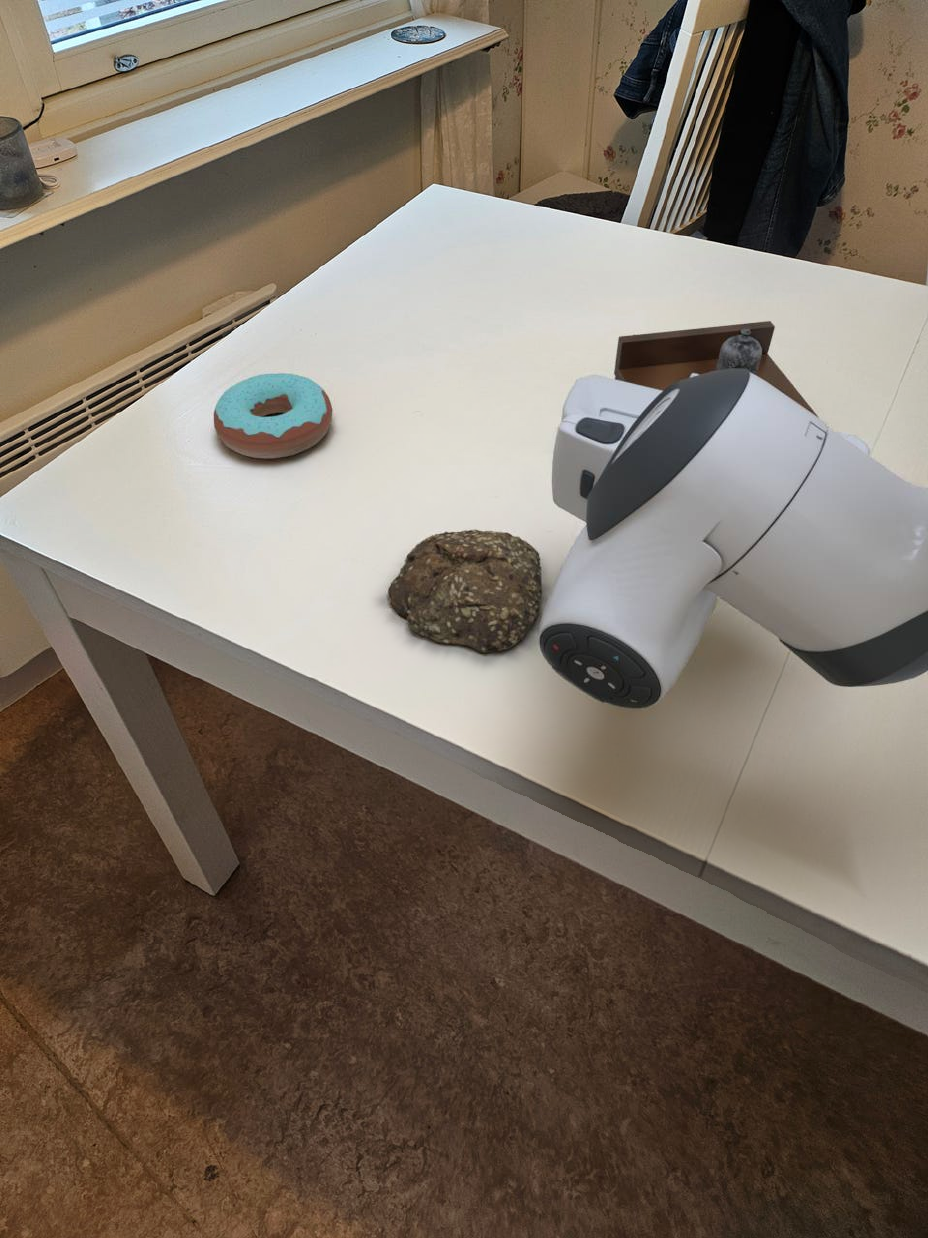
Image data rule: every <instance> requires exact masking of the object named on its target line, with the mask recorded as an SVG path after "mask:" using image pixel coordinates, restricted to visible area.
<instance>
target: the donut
mask: <svg viewBox="0 0 928 1238" xmlns="http://www.w3.org/2000/svg"><path fill="white" fill-rule="evenodd" d="M278 413H281V414H278ZM271 414H278V415H273V416H266V415H271ZM332 420H333V406H332V402H331V400H330V396H328V394H327V393H326V391H325V390H324V388H323V387H322V386H321V385H319V384H318V383H316V382H315V381H314V380H312V379H311V378H308V377H306V376H303V375H298V374H294V373H283V372H281V373H280V372H279V373H264V374H263V373H262V374H257V375H255V376H250V377H248V378H246V379H243V380H241V381H239V382H237V383H236V384H234V385H232V386H230V387H229V388H227V390H225V391H224V392H223V394H221V396H220V397H219V398H218V400H217V403H216V404H215V407H214V411H213V425H214V426H213V427H214V429H215V431H216V434H217V436H218V438H220V439H221V441H222V442H223V444H224V445H225V446H226V447H227V448H229V449H230V450H232V451H233V452H235V453H238V454H240V455H243V456H245V457H250V458H253V459H264V460H265V459H281V458H286V457H289V456H293V455H297V454H299V453H302V452H304V451H306V450H309V449H311V448H312V447H313V446H315V445H316V444H318V443H319V442H320V441H321V440H322V439H323V438H324V437H325V436H326V434H327V433H328V431H329V429H330V427H331V422H332Z"/></svg>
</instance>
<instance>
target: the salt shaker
mask: <svg viewBox="0 0 928 1238" xmlns="http://www.w3.org/2000/svg"><path fill="white" fill-rule="evenodd" d="M741 333H742V335H737V336H733V337H730V338H729V339H727V340H726V341H725V342H724V343H723V345H722V347H721V351H720V355H719V359H718V364H717V368H716V371H717V370H723V369H735V368H739V369H748V370H749V372H751V373H752V374H754V375H757V371H758V367H759V363H760V360H761V356H762V348H761V346H760V344H759V342H758V341H757V340H755V339H754V338H752V337H750V336H749V334H751V331H750V329H749V327H748V326H747V327H746V328H744V329H743V330H741Z"/></svg>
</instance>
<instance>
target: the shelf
mask: <svg viewBox="0 0 928 1238" xmlns="http://www.w3.org/2000/svg"><path fill="white" fill-rule="evenodd" d="M747 326H748V327H749V329H750V331H751V334H749V336H750V337H752V338H754V339H755V340H757V341H758V342H759V344H760V346H761V348H762V356H761V360H760V363H759V367H758V371H757V375H756V376H758V377H760V378H761V379H763V380H764V381H766V382H768V383H769V384H771V385H772V386H773V387H775V388H776V389H778V390H779V391H781V392H782V393H783V394H785V395H786V396H788V397H789V398H791V399H792V400H794V401H795V402H796V403H798V404H799V405H801V406H802V407H804V408H805V409H806V410H808V411H809V412H811V413H812V414H814V415H815V416H817V417H818V418H819V419H821V418H820V417H819V416H818V414H817V413H816V412H815V411H814V410H813V408H812V407H811V405H810V404H809V403H808V402H807V401H806V400H805V398H804V397H803V396H802V394H801V393H800V392H799V391H798V389H797V388H796V387H795V386H794V385H793V383H792V382H791V381H790V379H789V378H788V377H787V376H786V374H785V373H784V372H783V371H782V369H780V367H779V366H778V365H777V363H776V362H775V361H774V360H773V358H772V357H771V356H770V354H769V351H770V346H771V343H772V340H773V336H774V333H775V330H776V329H775V328H776V326H775V325H774V324H773V322H772V321H771V320H767V321H766V320H765V321H757V322H747V323H739V324H738V323H736V324H728V325H718V326H717V325H716V326H708V327H699V328H690V329H689V328H688V329H680V330H679V329H678V330H670V331H659V332H649V333H639V334H631V335H621V336H618V340H617V347H616V355H615V362H614V372H613V375H614V379H615V380H619V381H624V382H628V383H632V384H636V385H641V386H645V387H649V388H653V389H658V390H662V391H664V390H665V389H666V388H667V387H669V386H670V385H672V384H673V383H675V382H678V381H681V380H684V379H687V378H690V376H691V374H692V373H695V374H699V375H701V374H705V373H708V372H712V371H716V368H717V364H718V359H719V355H720V351H721V347H722V345H723V343H724V342H725V341H726V340H727V339H729V338H730V337H733V336H737V335H742V333H741V330H743V329H744V328H746V327H747Z"/></svg>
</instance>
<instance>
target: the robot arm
mask: <svg viewBox="0 0 928 1238" xmlns="http://www.w3.org/2000/svg"><path fill="white" fill-rule="evenodd" d="M817 416H818V415H817ZM817 416H815V415H814V414H812V413H811V412H809V411H808V410H806V409H805V408H804V407H802V406H801V405H799V404H798V403H796V402H795V401H794V400H792V399H791V398H789V397H788V396H786V395H785V394H783V393H782V392H781V391H779V390H778V389H776V388H775V387H773V386H772V385H771V384H769V383H768V382H766V381H764V380H763V379H761V378H760V377H758V376H756V375H754V374H752V373H751V372H749V370H748V369H739V368H735V369H723V370H717V371H712V372H708V373H705V374H701V375H699V374H695V373H692V374H691V376H690V378H687V379H684V380H681V381H678V382H675V383H673V384H672V385H670V386H669V387H667V388H666V389H665V390H664V391H662V390H658V389H653V388H649V387H645V386H641V385H636V384H632V383H628V382H624V381H619V380H615V378H610V377H607V376H602V375H599V374H592V375H587V376H582V377H580V378H578V379H577V380H576V381H575V382H574V384H573V385H572V386H571V388H570V390H569V391H568V393H567V396H566V398H565V400H564V403H563V406H562V410H561V421H560V423H559V425H558V428H557V432H556V435H555V441H554V446H553V452H552V461H551V494H552V495H551V496H552V501H553V503H554V504H555V505H556V506H557V507H558V508H560V509H561V510H564V511H565V512H567V513H569V514H570V515H572V516H574V517H576V518H577V519H579V520H581V521H582V522H584V523H585V524H586V525H585V526H584V527H583V528H582V529H581V530H580V532H579V534H578V535H577V537H576V539H575V540H574V542H573V544H572V545H571V548H570V550H569V551H568V553H567V555H566V556H565V558H564V560H563V563H562V564H561V567H560V569H559V571H558V573H557V576H556V578H555V579H554V583H553V584H552V587H551V590H550V592H549V595H548V598H547V601H546V603H545V606H544V609H543V611H542V615H541V619H540V623H539V626H538V633H537V643H538V647H539V649H540V653H541V654H542V656H543V658H544V659H545V661H546V662H547V664H548V665H550V667H551V669H552V670H553V671H554V672H556V673H557V674H558V675H559V676H560V677H561V678H563V680H566V681H567V682H568V683H569V684H571V685H572V686H574V687H575V688H576V689H578V690H579V691H581V692H583V694H586V695H588V696H589V697H591V698H592V699H594V700H596V701H598V702H600V703H602V704H608V705H611V706H614V707H617V708H623V709H633V710H635V709H637V710H639V709H646V708H650V707H653V706H655V705H657V704H659V703H660V702H661V701H662V700H663V699H664V698H665V696H666V695H667V694H668V693H669V692H670V690H671V689H672V687H673V686H674V685H675V684H676V682H677V680H678V679H679V678H680V676H681V674H682V672H683V670H684V669H685V668H686V665H687V664H688V662H689V661H690V659H691V657H692V656H693V653H694V651H695V650H696V648H697V646H698V644H699V642H700V640H701V638H702V637H703V634H704V632H705V630H706V628H707V625H708V624H709V621H710V620H711V617H712V614H713V612H714V610H715V609H716V605H717V602H718V600H719V598H720V599H722V600H723V601H724V602H726V603H727V604H729V605H730V606H732V607H733V608H734V609H736V610H737V611H738V612H740V613H742V614H743V615H744V616H746V617H748V618H749V619H750V620H752V621H753V622H755V623H756V624H758V625H759V626H760V627H762V628H764V629H765V630H766V631H768V632H769V633H771V634H772V635H773V636H775V637H776V638H778V641H779V642H780V643H781V644H782V645H783V646H785V648H787V649H788V650H789V651H790V652H792V654H793V655H795V656H796V657H798V658H799V659H800V660H801V661H803V662H804V663H805V664H806V665H807V666H808V667H810V668H811V669H812V670H813V671H815V672H816V673H817V674H818V675H819V676H821V677H822V678H823V679H824V680H825V681H827V682H828V683H829V684H832V685H834V686H837V687H842V688H843V687H845V688H856V687H857V688H858V687H859V688H860V687H864V688H865V687H874V686H884V685H891V684H896V683H902V682H905V681H910V680H912V679H915V678H918V677H920V676H922V675H923V674H925V673H926V672H928V487H926V486H921V485H918V484H916V483H912V482H910V481H908V480H906V479H904V478H902V477H900V476H899V475H897V473H895V472H894V471H892V470H891V469H890V468H888V467H886V466H885V465H883V464H882V463H881V462H879V461H878V460H877V459H875V457H872V456H871V449H870V447H869V446H868V444H867V443H866V442H865V441H864V440H863V438H861V437H860V436H857V435H854V434H849V433H845V432H840V431H836V430H834V429H833V428H831V427H829V426H828V425H827V423H826V422H825V421H824V420H822V419H821V418H820V417H819V416H818V417H819V418H820V419H819V418H818V417H817Z"/></svg>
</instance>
